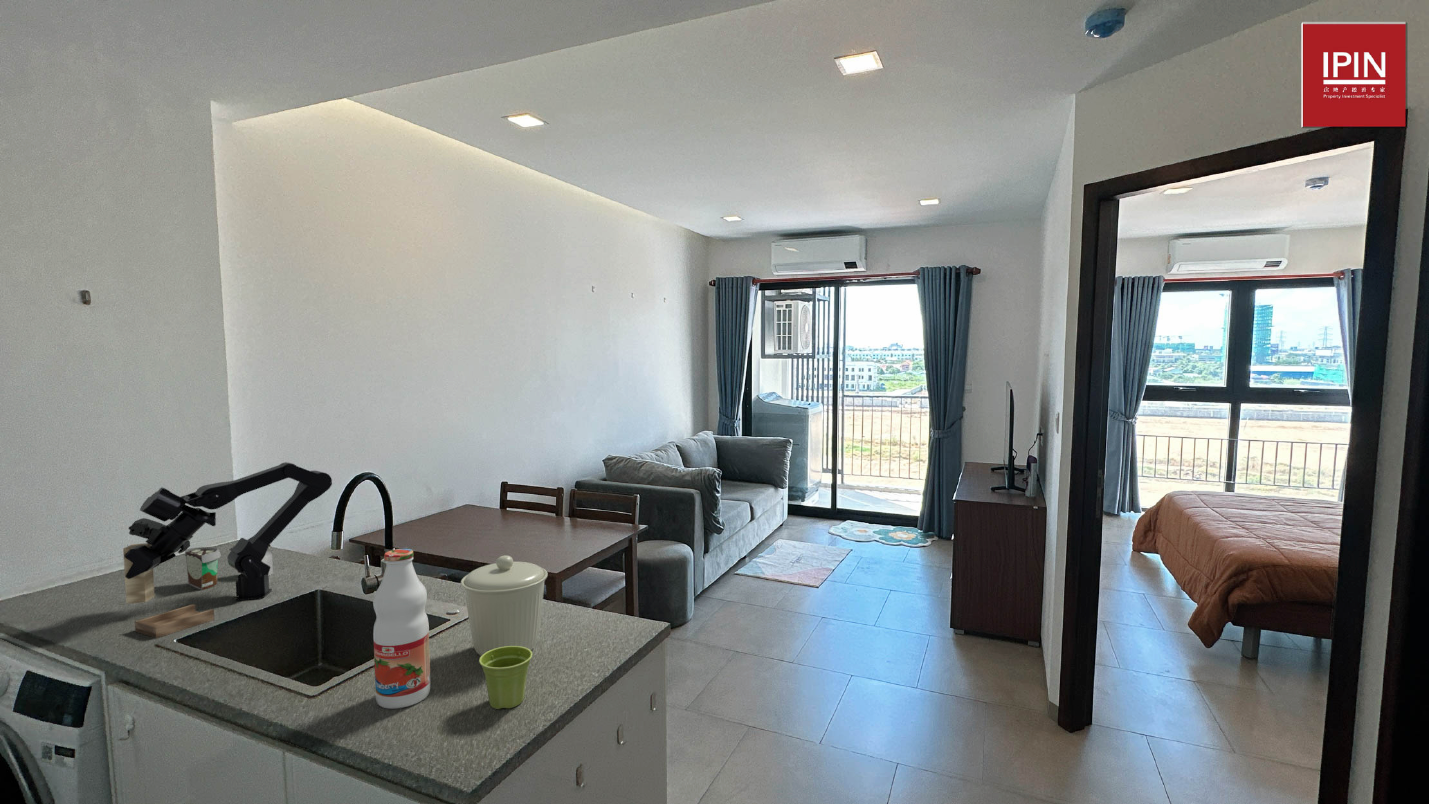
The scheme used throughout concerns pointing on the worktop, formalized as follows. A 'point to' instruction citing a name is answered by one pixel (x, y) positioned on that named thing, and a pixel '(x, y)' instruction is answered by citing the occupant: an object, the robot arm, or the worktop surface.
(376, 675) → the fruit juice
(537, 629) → the canister
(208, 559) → the food container
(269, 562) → the tea bag
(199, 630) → the worktop surface
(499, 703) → the plant pot
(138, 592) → the birch peg
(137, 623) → the walnut rack
